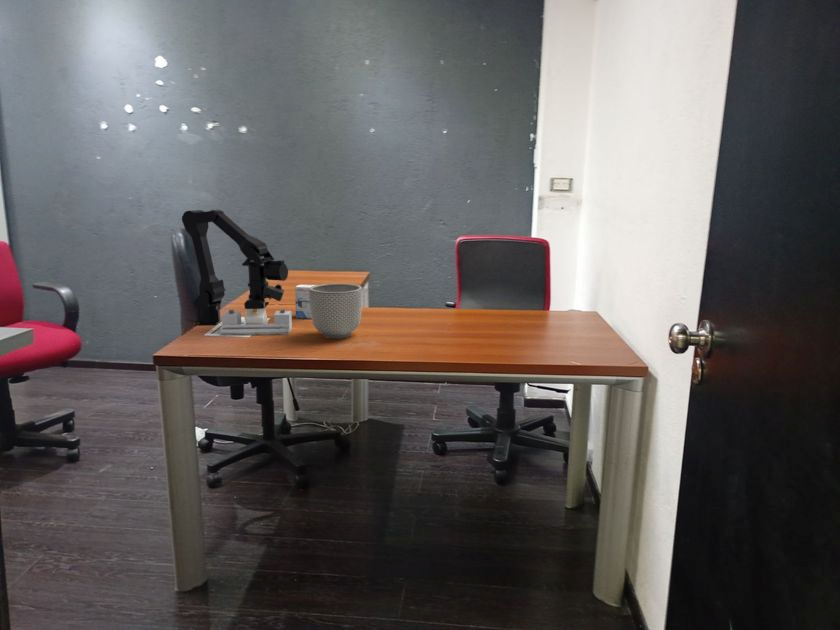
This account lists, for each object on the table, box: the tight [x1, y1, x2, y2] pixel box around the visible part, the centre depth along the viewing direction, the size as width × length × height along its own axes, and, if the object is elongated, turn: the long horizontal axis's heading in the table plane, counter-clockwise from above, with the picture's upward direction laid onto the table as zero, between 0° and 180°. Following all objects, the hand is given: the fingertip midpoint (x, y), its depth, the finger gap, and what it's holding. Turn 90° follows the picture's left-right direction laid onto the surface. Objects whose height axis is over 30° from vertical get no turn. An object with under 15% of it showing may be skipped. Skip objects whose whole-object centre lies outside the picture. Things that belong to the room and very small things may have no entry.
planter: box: [309, 282, 364, 340], centre depth 201 cm, size 17×17×16 cm
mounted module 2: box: [273, 308, 293, 332], centre depth 209 cm, size 5×6×7 cm
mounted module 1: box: [220, 308, 242, 325], centre depth 208 cm, size 5×6×7 cm
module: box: [244, 307, 268, 324], centre depth 207 cm, size 6×5×7 cm
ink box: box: [294, 284, 316, 319], centre depth 228 cm, size 9×5×12 cm, turn 84°
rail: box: [219, 323, 291, 336], centre depth 204 cm, size 22×3×3 cm, turn 94°
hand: (260, 324), depth 213 cm, fingers closed
